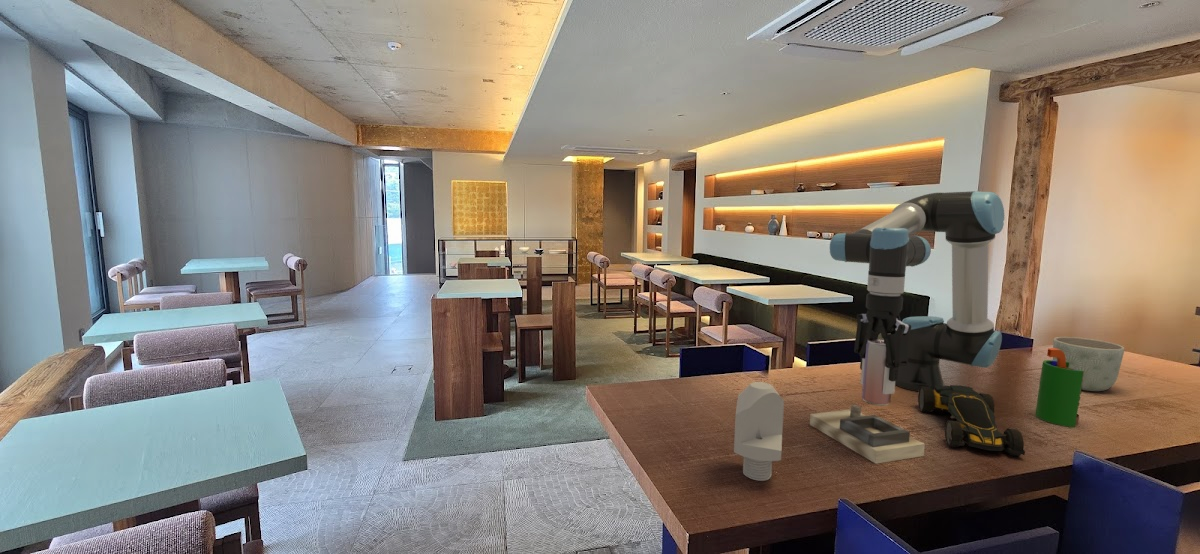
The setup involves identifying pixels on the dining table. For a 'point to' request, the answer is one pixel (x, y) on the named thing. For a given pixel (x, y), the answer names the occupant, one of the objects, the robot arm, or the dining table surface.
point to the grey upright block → (759, 429)
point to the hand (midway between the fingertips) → (876, 388)
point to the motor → (1059, 391)
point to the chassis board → (868, 435)
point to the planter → (1092, 360)
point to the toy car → (970, 419)
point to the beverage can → (875, 373)
